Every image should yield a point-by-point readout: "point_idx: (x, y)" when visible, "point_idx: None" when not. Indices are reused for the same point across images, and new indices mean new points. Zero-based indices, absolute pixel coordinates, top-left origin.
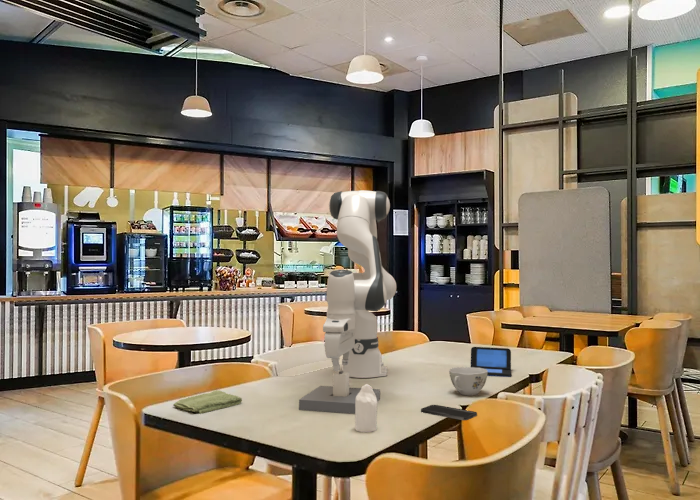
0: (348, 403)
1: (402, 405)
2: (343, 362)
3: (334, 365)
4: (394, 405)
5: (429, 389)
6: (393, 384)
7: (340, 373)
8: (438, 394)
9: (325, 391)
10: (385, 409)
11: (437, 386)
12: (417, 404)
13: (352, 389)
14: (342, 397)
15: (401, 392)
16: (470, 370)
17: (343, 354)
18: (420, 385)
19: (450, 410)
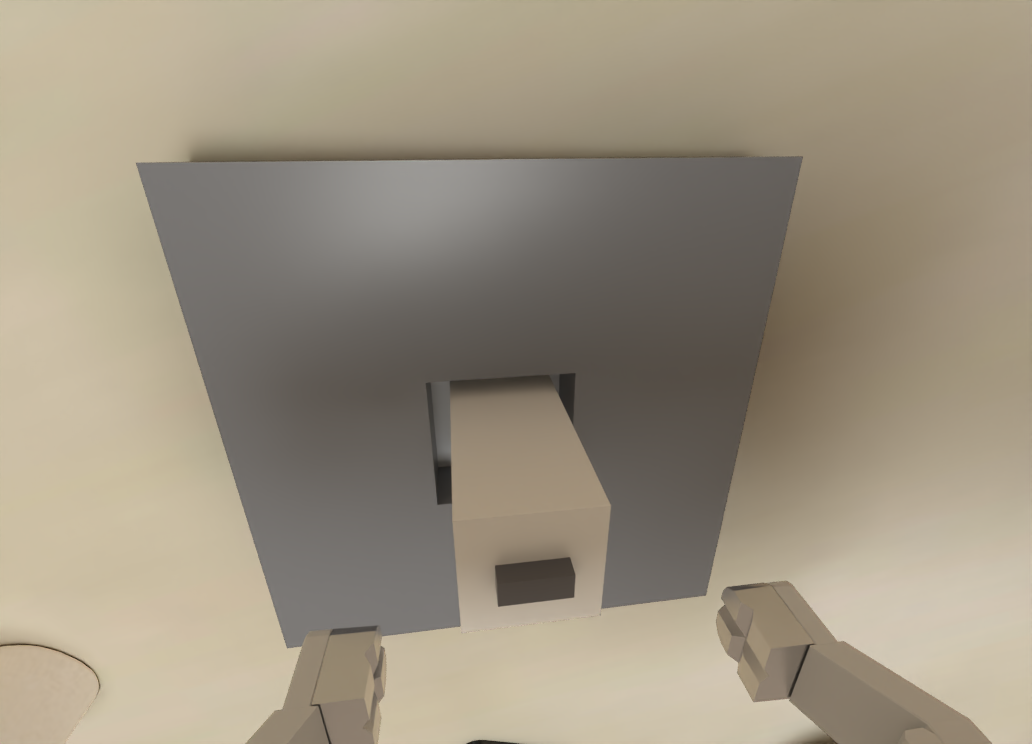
0: (264, 566)
1: (561, 664)
2: (744, 623)
3: (286, 722)
4: (552, 640)
5: (889, 662)
6: (1025, 508)
7: (494, 584)
8: (792, 709)
9: (568, 293)
10: (458, 633)
11: (946, 669)
12: (596, 701)
13: (677, 461)
14: (405, 484)
15: (831, 590)
16: None
17: (894, 709)
18: (978, 614)
19: None
